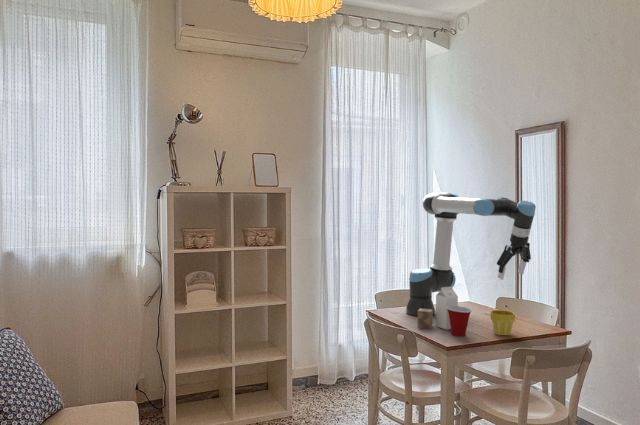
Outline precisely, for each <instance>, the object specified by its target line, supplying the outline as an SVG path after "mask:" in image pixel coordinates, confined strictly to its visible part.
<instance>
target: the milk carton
mask: <svg viewBox="0 0 640 425" xmlns="http://www.w3.org/2000/svg"><path fill="white" fill-rule="evenodd" d="M458 298H459V297H458V295H457V293H456V291H454V286H453V287H444V288H441V291H440V292H437V294H436V295H435V326H436V327H437V328H441V329H443V330H451V327H450V320H449V314H448V309H447V306H459V304H458V303H459V302H458V301H459V300H458Z"/></svg>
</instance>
